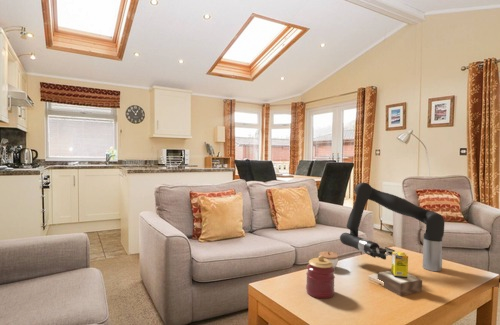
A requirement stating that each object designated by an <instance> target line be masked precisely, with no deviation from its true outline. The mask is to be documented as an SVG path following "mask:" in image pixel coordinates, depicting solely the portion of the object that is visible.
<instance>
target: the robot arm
mask: <svg viewBox="0 0 500 325" xmlns="http://www.w3.org/2000/svg"><path fill="white" fill-rule="evenodd" d="M354 192H355V200H354V205H353V206H352V208H351V211H350V213H349V216H348V220H347V223H346V229H347V230H349V232H343V233H341V234H340V236H339V240H340V243H342V244H343V245H345V246H348V247H350V248H354V249H356V250H358V251H360V252H362V253H364V254H366V255H368V256H370V257H372V258H375V259H376V258H380V259H382V260H387V257H388V256H391V257H392V252H396V250H395V249H393V248H389V247H387V246H386V247H383V246H382V247H381V246H380V245H379V244H378V243H376V242H375V241H372V240H369V239H365V238H363V237H359V228H360V224H361V221H362V217H363V213H364V210H365V208H366V205H367V203H368V200H369V201H372V202H374V203H377V204H378V205H381V207H384V208H385V209H388V210H390V211H392V212H395V213H397V214H399V215H403V216H406V217H411V218H412V219H416V220H418V221H419V222H421V223H423V224H425V232H424V234H423V242H422V244H423V247H422V268H423V269H425V270H427V271H431V272H441V270H443V253H442V252H443V251H442V250H443V249H442V248H443V237H444V234H445V218H444V216H442V215H441V214H440V213H438V212H436V211H434V210H430V209H426V208H424V207H421V206H418V205H415V204H414V203H412V202H410V201H408V200H407V199H405V198H402V197H401V196H397V195H395V194H392V193H388V192H384V191H380V190H378V189H376V188H375V187H372V186H371V185H370V184H369V183H368V182H359V183H358V184H356V185H355V186H354Z"/></svg>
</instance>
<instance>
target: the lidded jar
mask: <svg viewBox="0 0 500 325" xmlns="http://www.w3.org/2000/svg"><path fill="white" fill-rule="evenodd" d="M320 255H321V256H323V257H324V258H326V259H328V260H330V261H331V262H332V263H333V267H334V268H336V267H337V265H338V262H339V255H338V254H337V253H336V252H332V251H320V252H319V254H318V257H319V256H320Z"/></svg>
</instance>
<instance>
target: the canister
mask: <svg viewBox="0 0 500 325" xmlns="http://www.w3.org/2000/svg"><path fill="white" fill-rule="evenodd" d="M335 268H336V267H335ZM335 268H334V267H333V263H332V262H331V261H330V260H328V259H326V258H324V257H323V256H321V255H320V256H319V255H318V257H314V258H311V259H310V260H308V264H307V265H306V269H307V271H306V285H305V289H306V293H307V294H308V295H309V296H311V297H313V298H316V299H324V300H325V299H330V298H332V297H333V296H334V295H335V278H336V276H335V274H334V273H335V271H336V269H335Z"/></svg>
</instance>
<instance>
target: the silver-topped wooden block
mask: <svg viewBox="0 0 500 325" xmlns="http://www.w3.org/2000/svg"><path fill="white" fill-rule="evenodd" d="M377 279H379V280H381V281H383V282H384V286H382V287H383V288H384V289H387V290H388V291H390V292H392V293H394V294H396V296H400V297H402V296H406V295H407V296H408V295H413V294H418V293H421V292H422V293H423V280H422V278H419V277H416V276H414V275H412V274H409V273H408V274H407V278H399V277H394V275H393V274H392V273H391V270H385V271H379V272H378V273H377Z"/></svg>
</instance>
